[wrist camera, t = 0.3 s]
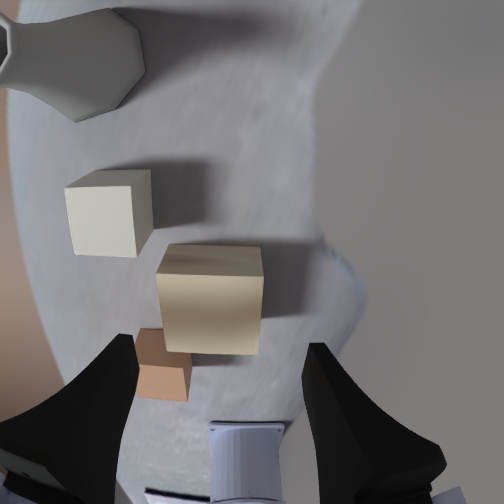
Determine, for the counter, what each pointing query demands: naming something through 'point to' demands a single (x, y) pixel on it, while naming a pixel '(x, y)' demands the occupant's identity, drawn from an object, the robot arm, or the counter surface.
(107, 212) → the cream cube
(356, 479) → the robot arm
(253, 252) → the beech block
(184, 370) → the brown cube
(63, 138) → the counter surface
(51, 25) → the flask
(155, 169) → the counter surface
